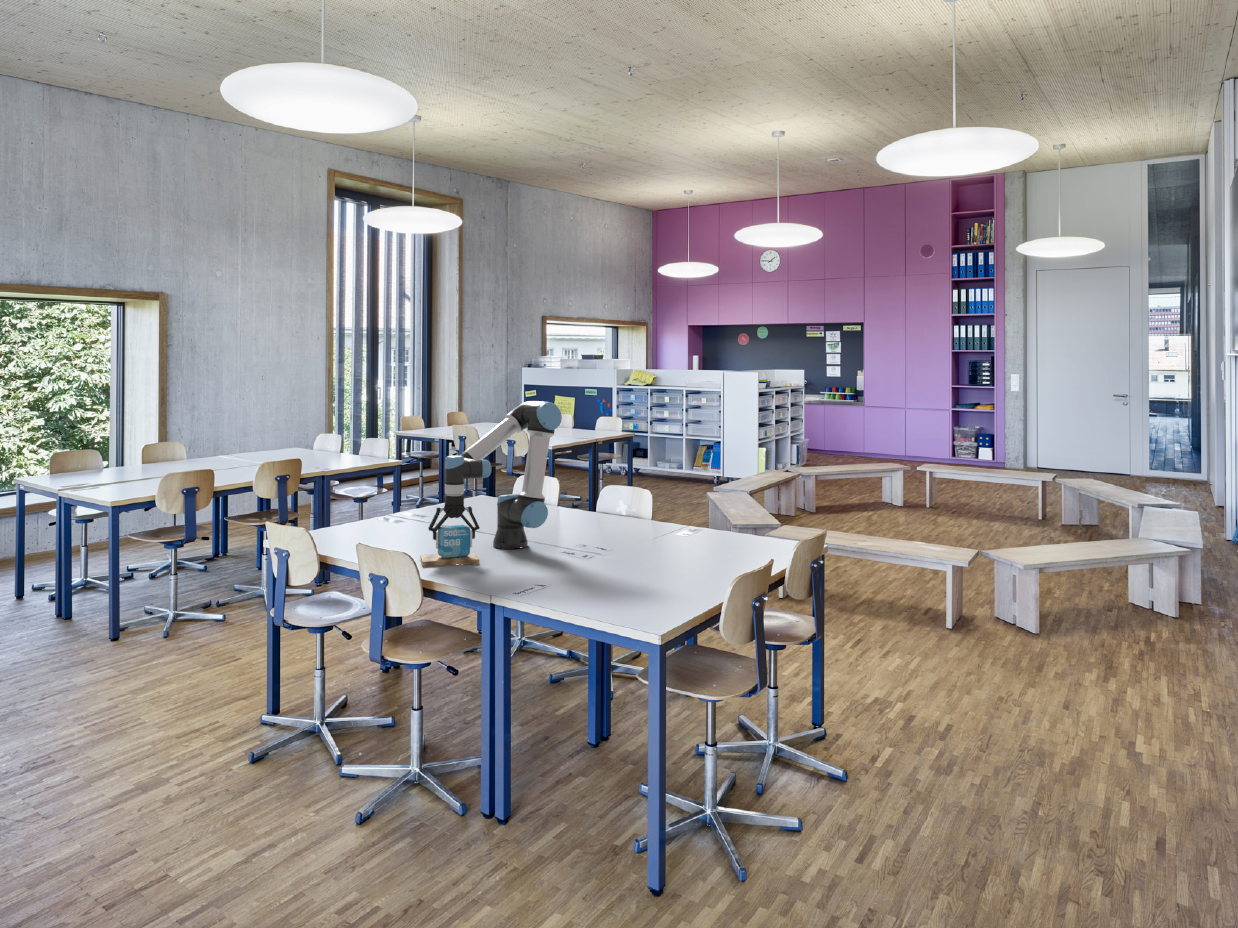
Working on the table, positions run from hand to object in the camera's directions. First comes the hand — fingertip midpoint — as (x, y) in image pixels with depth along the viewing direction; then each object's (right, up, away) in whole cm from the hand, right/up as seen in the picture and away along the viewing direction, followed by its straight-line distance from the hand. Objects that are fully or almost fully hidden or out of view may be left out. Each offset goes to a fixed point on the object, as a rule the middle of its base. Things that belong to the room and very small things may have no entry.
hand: (454, 547), depth 333 cm
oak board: (-2, -6, 0) cm, 6 cm away
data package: (0, -4, 0) cm, 4 cm away
